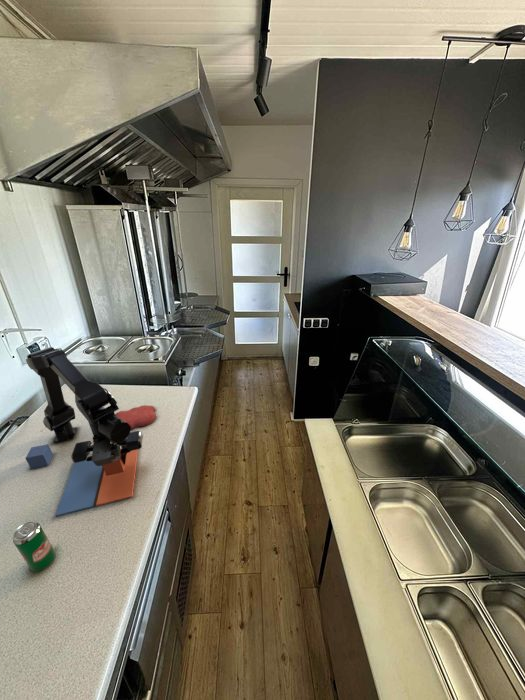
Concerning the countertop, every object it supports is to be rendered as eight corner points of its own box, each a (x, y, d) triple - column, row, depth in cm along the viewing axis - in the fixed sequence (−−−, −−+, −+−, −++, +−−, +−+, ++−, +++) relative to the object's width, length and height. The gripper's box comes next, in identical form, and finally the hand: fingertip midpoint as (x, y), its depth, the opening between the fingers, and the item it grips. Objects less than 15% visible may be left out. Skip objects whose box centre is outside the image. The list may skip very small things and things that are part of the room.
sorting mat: (75, 462, 97) (74, 461, 97) (138, 449, 102) (137, 447, 102) (55, 516, 80) (54, 515, 79) (132, 497, 85) (131, 495, 84)
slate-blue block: (36, 458, 99) (31, 447, 97) (53, 454, 100) (48, 444, 98) (30, 469, 95) (25, 458, 93) (48, 465, 96) (42, 454, 94)
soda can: (43, 574, 67) (23, 544, 62) (25, 570, 68) (4, 539, 63) (61, 552, 71) (44, 521, 66) (44, 548, 72) (26, 517, 67)
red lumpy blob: (110, 437, 108) (109, 433, 107) (110, 416, 119) (108, 412, 118) (158, 422, 115) (157, 418, 114) (153, 404, 126) (153, 400, 125)
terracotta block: (109, 463, 92) (105, 452, 90) (125, 460, 94) (122, 448, 91) (106, 476, 88) (102, 464, 86) (123, 472, 89) (120, 460, 87)
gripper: (57, 455, 74) (75, 495, 81) (134, 439, 79) (145, 478, 86) (69, 427, 84) (85, 465, 91) (137, 414, 89) (147, 451, 95)
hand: (115, 465), depth 90 cm, fingers closed on terracotta block, 5 cm apart
